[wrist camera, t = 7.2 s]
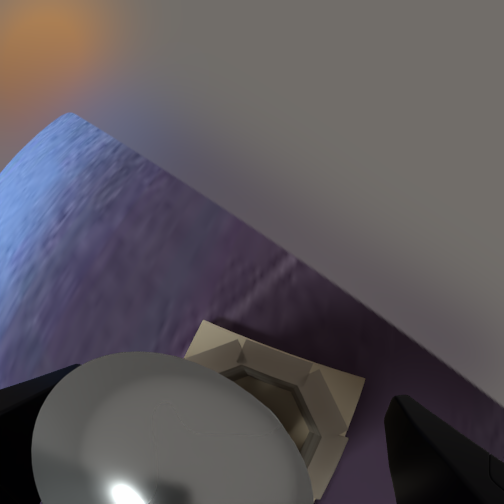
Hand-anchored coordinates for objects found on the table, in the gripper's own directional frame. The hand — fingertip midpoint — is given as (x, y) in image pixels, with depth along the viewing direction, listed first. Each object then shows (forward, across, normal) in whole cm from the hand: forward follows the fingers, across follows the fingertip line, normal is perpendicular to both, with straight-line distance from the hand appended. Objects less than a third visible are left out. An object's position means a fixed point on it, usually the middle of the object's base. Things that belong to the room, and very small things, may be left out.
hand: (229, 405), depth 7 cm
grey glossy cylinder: (+5, 0, +7) cm, 8 cm away
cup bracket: (+5, 0, +7) cm, 9 cm away
